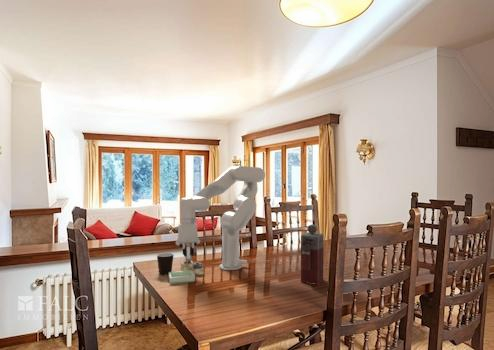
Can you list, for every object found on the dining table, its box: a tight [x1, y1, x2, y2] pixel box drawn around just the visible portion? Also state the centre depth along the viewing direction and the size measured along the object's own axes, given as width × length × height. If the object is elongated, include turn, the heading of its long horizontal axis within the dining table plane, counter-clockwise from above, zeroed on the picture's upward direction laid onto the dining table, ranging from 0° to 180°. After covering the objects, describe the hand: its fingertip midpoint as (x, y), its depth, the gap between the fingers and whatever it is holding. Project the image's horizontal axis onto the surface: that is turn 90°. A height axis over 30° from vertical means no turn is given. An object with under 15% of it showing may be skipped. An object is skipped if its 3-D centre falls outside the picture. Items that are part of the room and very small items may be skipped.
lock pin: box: [184, 243, 192, 264], centre depth 177 cm, size 3×3×11 cm
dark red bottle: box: [300, 224, 324, 285], centre depth 165 cm, size 9×11×28 cm
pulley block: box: [180, 260, 204, 276], centre depth 178 cm, size 11×7×6 cm, turn 107°
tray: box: [168, 270, 196, 285], centre depth 167 cm, size 12×10×3 cm
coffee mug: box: [156, 252, 175, 276], centre depth 179 cm, size 12×9×10 cm
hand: (188, 255), depth 177 cm, fingers closed on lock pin, 3 cm apart
